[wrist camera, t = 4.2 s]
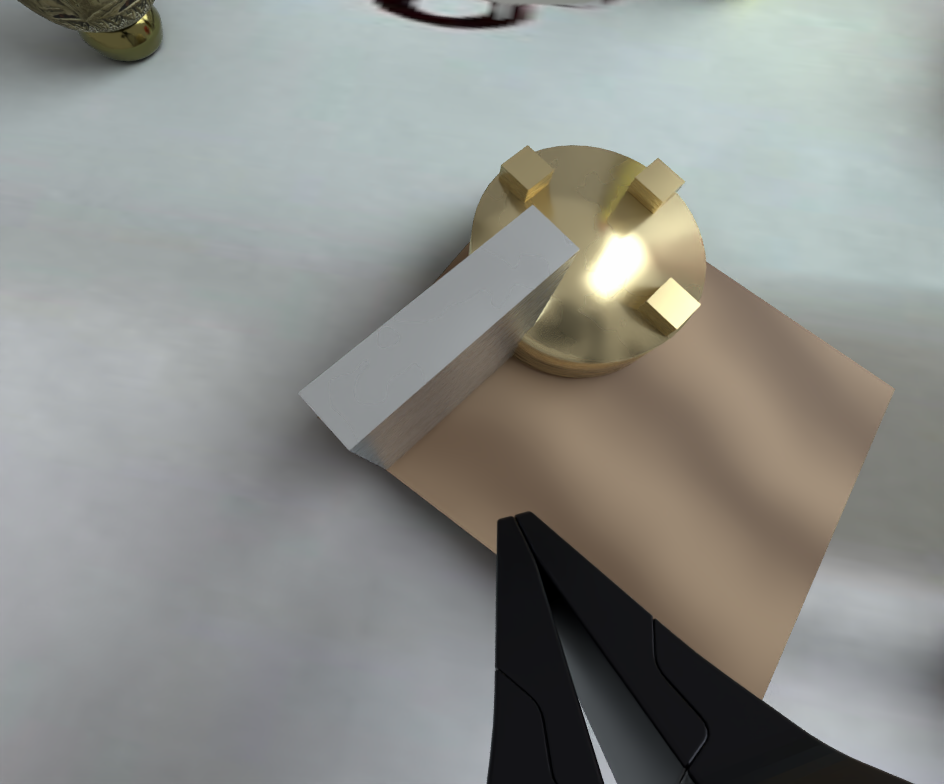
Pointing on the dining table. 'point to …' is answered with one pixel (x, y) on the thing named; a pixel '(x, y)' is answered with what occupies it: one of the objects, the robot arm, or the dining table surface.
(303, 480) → the dining table surface
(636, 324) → the ring nut spanner
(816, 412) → the walnut base
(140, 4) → the cup
